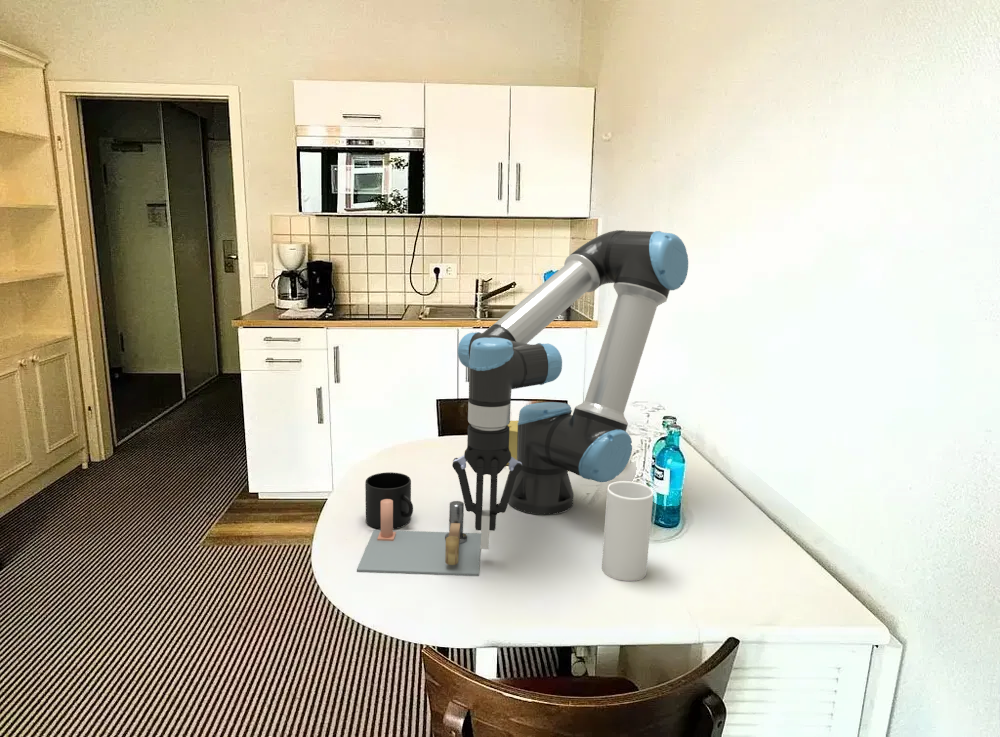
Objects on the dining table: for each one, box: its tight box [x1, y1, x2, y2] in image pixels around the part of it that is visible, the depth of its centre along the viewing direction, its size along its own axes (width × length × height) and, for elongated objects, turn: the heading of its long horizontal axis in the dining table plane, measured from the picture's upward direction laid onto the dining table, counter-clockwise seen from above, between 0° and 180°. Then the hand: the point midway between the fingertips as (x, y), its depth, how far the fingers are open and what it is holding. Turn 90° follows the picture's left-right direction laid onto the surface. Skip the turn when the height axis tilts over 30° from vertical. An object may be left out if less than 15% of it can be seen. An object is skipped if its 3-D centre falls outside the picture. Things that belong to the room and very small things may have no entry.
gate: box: [445, 523, 460, 565], centre depth 125 cm, size 10×2×4 cm, turn 0°
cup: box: [601, 480, 654, 582], centre depth 122 cm, size 8×8×16 cm
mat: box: [356, 529, 481, 577], centre depth 128 cm, size 22×16×1 cm
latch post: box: [377, 499, 396, 541], centre depth 132 cm, size 3×3×8 cm
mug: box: [364, 471, 414, 530], centre depth 139 cm, size 9×12×9 cm
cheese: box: [505, 420, 519, 467], centre depth 179 cm, size 10×11×10 cm
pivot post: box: [445, 500, 467, 544], centre depth 132 cm, size 4×4×8 cm
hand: (484, 545), depth 124 cm, fingers closed
